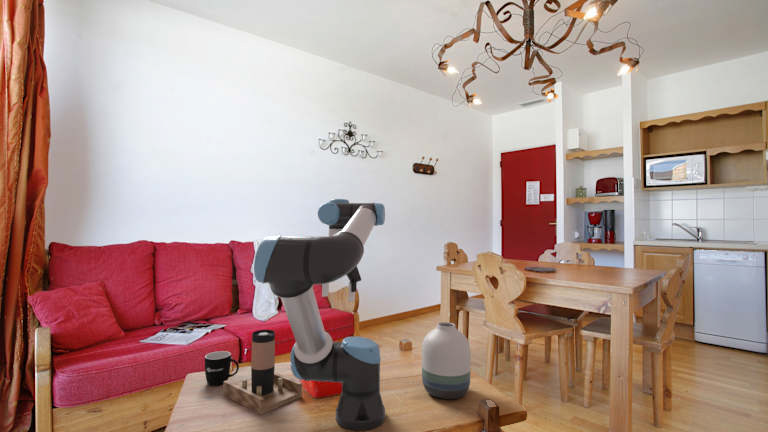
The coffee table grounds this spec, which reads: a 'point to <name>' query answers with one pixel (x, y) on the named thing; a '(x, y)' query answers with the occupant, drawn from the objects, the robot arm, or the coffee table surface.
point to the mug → (218, 367)
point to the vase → (446, 362)
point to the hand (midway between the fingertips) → (338, 298)
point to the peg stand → (281, 395)
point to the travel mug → (263, 361)
